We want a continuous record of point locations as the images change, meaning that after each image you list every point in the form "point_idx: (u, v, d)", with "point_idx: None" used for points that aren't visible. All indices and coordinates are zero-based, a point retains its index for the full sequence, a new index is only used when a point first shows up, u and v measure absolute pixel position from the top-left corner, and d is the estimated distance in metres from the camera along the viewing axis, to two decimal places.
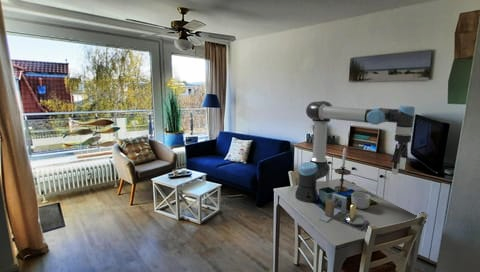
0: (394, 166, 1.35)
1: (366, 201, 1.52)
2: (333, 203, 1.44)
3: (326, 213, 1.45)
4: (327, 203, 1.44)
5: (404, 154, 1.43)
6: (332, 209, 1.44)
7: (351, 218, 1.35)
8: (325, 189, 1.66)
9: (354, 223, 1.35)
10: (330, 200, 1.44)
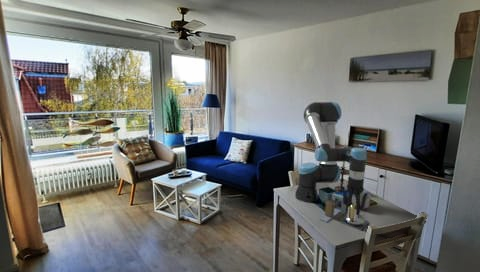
0: None
1: (366, 201, 1.52)
2: (333, 203, 1.44)
3: (326, 213, 1.45)
4: (327, 203, 1.44)
5: None
6: (332, 209, 1.44)
7: (351, 218, 1.35)
8: (325, 189, 1.66)
9: (354, 223, 1.35)
10: (330, 200, 1.44)
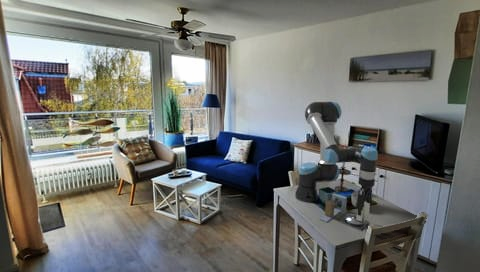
0: (358, 213, 1.31)
1: None
2: (333, 203, 1.44)
3: (326, 213, 1.45)
4: (327, 203, 1.44)
5: (368, 198, 1.37)
6: (332, 209, 1.44)
7: (363, 219, 1.34)
8: (325, 189, 1.66)
9: (363, 222, 1.36)
10: (330, 200, 1.44)
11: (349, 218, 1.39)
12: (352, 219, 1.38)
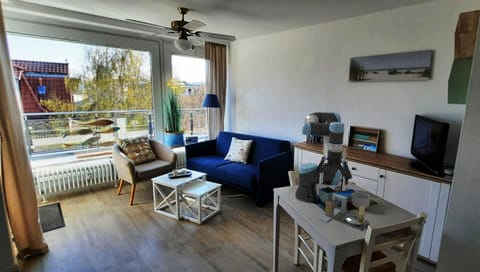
0: None
1: (366, 201, 1.52)
2: (333, 203, 1.44)
3: (326, 213, 1.45)
4: (327, 203, 1.44)
5: None
6: (332, 209, 1.44)
7: (363, 219, 1.34)
8: (325, 189, 1.66)
9: (363, 222, 1.36)
10: (330, 200, 1.44)
11: (349, 218, 1.39)
12: (352, 219, 1.38)
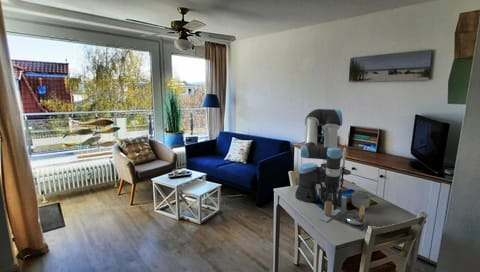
0: None
1: (366, 201, 1.52)
2: (333, 203, 1.44)
3: (326, 213, 1.45)
4: (327, 203, 1.44)
5: None
6: None
7: (363, 219, 1.34)
8: (325, 189, 1.66)
9: (363, 222, 1.36)
10: (330, 200, 1.44)
11: (349, 218, 1.39)
12: (352, 219, 1.38)
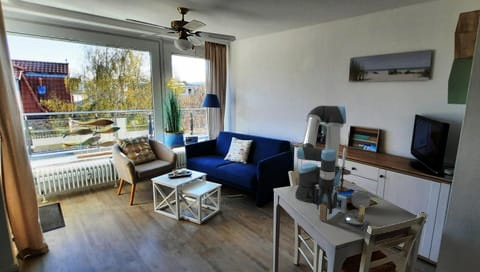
0: None
1: (366, 201, 1.52)
2: (328, 207, 1.39)
3: (321, 217, 1.41)
4: (322, 207, 1.40)
5: None
6: None
7: (363, 219, 1.34)
8: None
9: (363, 222, 1.36)
10: (325, 204, 1.40)
11: (349, 218, 1.39)
12: (352, 219, 1.38)
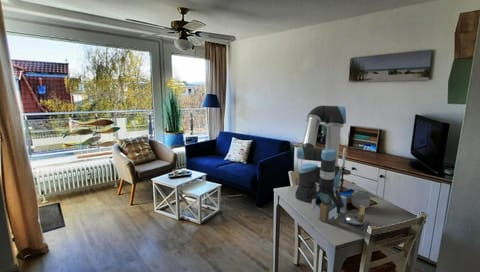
0: None
1: (366, 201, 1.52)
2: (328, 207, 1.39)
3: (321, 217, 1.41)
4: (322, 207, 1.40)
5: None
6: (327, 213, 1.39)
7: (363, 219, 1.34)
8: None
9: (363, 222, 1.36)
10: (325, 204, 1.40)
11: (349, 218, 1.39)
12: (352, 219, 1.38)
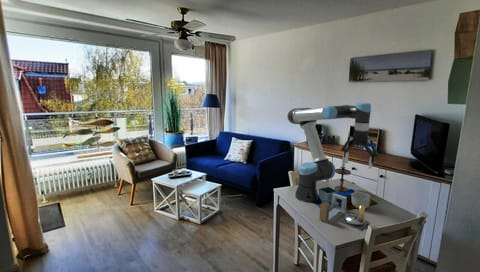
0: None
1: (366, 201, 1.52)
2: (328, 207, 1.39)
3: (321, 217, 1.41)
4: (322, 207, 1.40)
5: None
6: (327, 213, 1.39)
7: (363, 219, 1.34)
8: (325, 189, 1.66)
9: (363, 222, 1.36)
10: (325, 204, 1.40)
11: (349, 218, 1.39)
12: (352, 219, 1.38)
